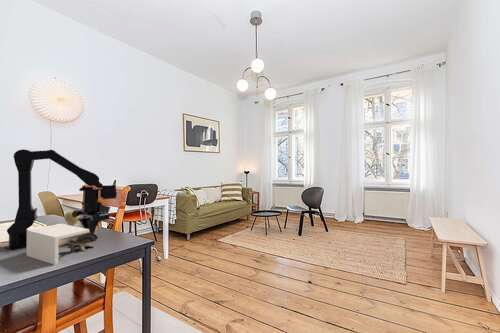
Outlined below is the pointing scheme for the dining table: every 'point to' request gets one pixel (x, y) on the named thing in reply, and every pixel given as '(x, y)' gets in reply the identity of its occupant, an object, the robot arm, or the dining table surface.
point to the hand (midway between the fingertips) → (90, 233)
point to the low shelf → (49, 241)
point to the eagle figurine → (82, 241)
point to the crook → (74, 237)
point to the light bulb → (71, 219)
